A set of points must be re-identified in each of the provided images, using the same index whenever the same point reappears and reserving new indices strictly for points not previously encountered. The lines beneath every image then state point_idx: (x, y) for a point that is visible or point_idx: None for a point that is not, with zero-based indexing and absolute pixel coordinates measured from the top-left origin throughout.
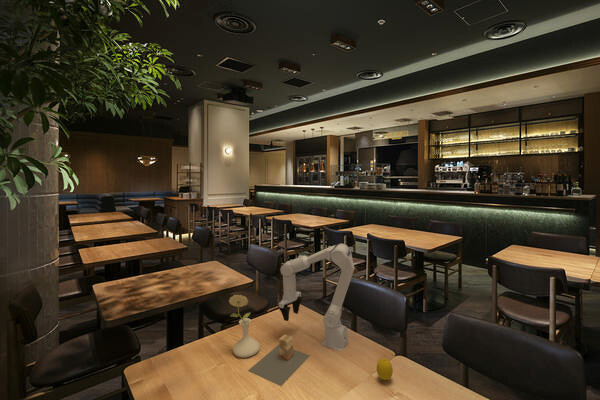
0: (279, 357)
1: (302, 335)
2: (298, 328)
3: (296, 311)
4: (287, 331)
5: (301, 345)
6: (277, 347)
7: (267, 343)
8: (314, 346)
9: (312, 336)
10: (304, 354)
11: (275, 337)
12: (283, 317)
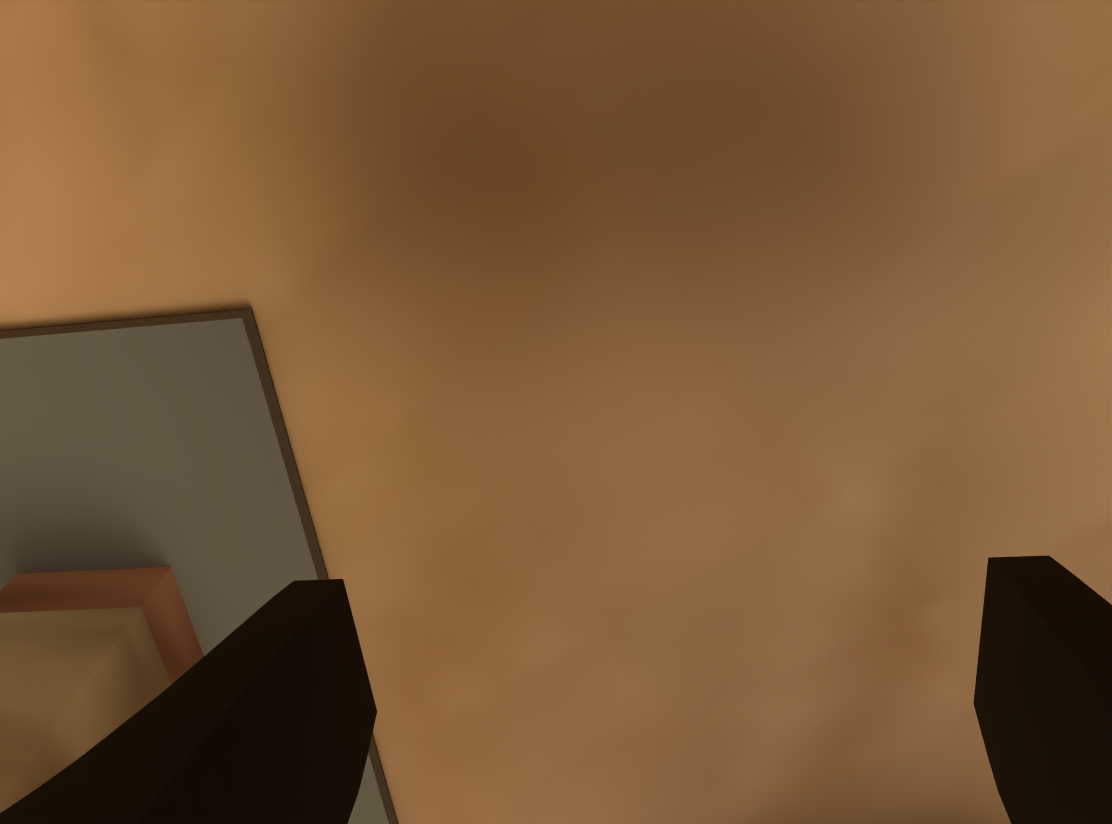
0: (13, 567)
1: (820, 472)
2: (1051, 227)
3: (1009, 747)
4: (780, 82)
5: (530, 625)
6: (145, 366)
7: (94, 44)
8: (641, 782)
9: (891, 633)
10: None
11: (384, 17)
12: (226, 653)
